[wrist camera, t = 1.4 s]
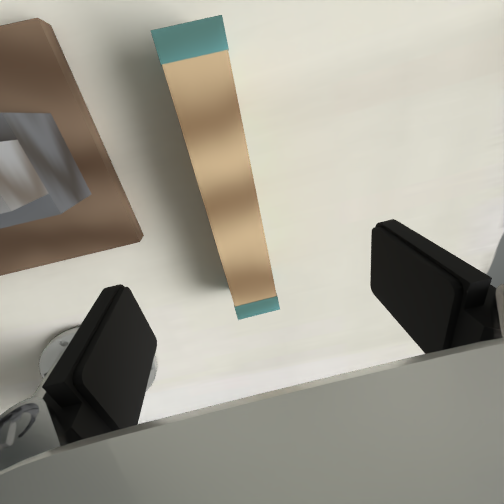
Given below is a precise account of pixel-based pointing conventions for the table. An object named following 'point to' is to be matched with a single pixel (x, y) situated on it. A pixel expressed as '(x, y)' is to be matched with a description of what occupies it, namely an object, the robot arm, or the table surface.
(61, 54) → the fulcrum stand
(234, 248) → the oak beam
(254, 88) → the table surface
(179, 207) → the table surface
